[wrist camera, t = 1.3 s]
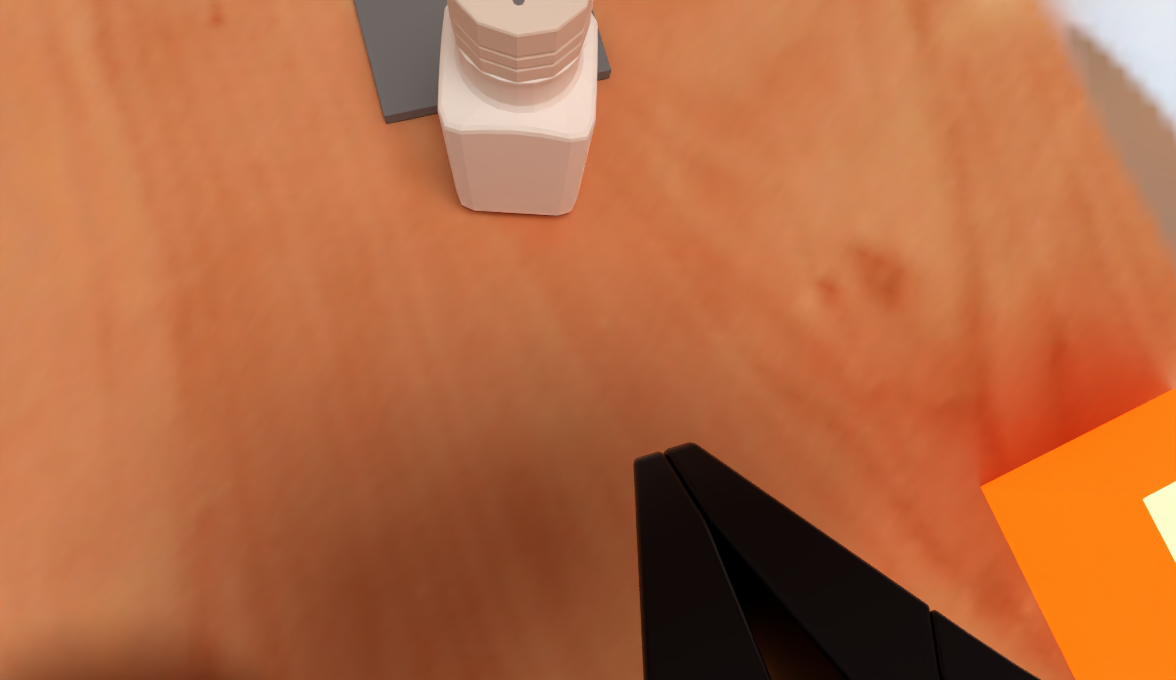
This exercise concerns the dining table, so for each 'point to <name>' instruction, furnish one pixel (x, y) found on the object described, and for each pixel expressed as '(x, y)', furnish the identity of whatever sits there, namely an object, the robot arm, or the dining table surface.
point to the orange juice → (1102, 542)
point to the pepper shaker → (518, 101)
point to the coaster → (413, 54)
